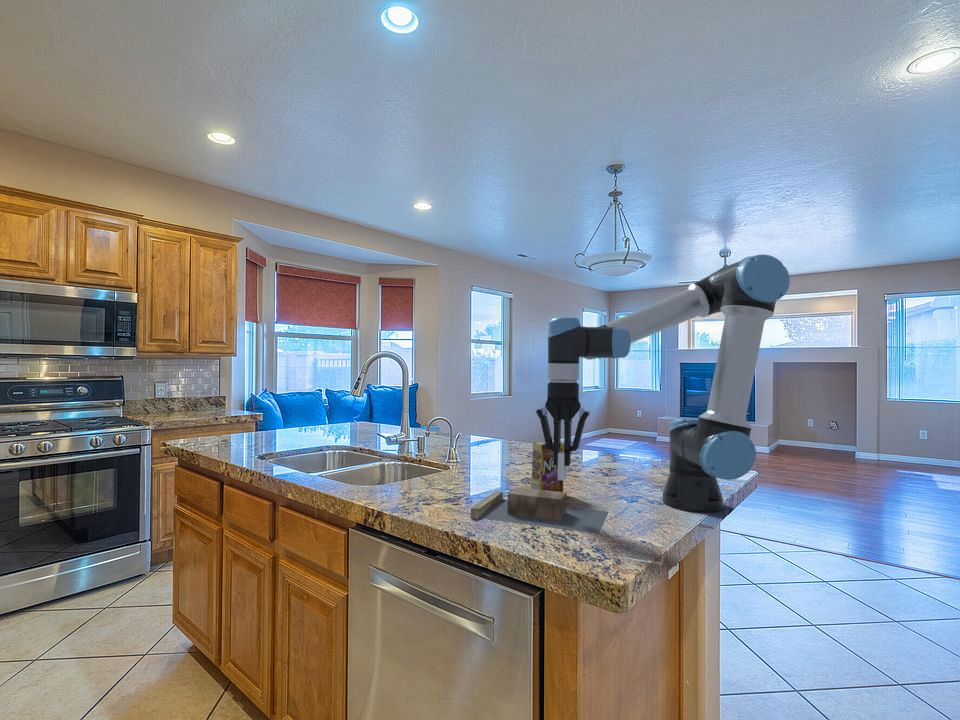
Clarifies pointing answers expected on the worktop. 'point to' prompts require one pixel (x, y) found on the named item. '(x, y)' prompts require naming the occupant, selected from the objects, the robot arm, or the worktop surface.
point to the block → (537, 503)
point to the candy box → (545, 468)
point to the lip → (486, 504)
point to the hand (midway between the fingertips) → (561, 479)
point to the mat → (571, 520)
